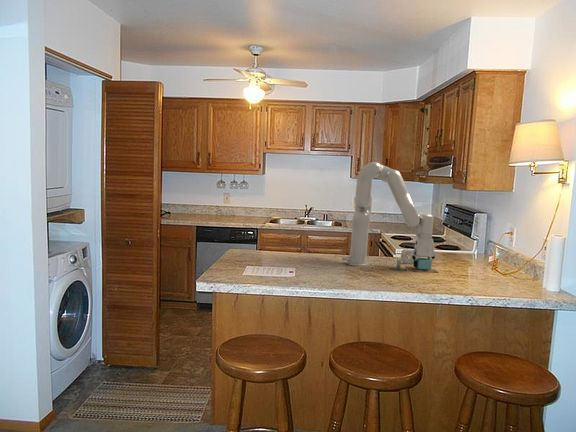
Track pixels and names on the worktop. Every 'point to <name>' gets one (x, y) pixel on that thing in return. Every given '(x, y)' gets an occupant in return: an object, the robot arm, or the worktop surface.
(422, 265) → the collar
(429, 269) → the hub board
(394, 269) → the stand
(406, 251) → the donut
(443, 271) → the worktop surface
